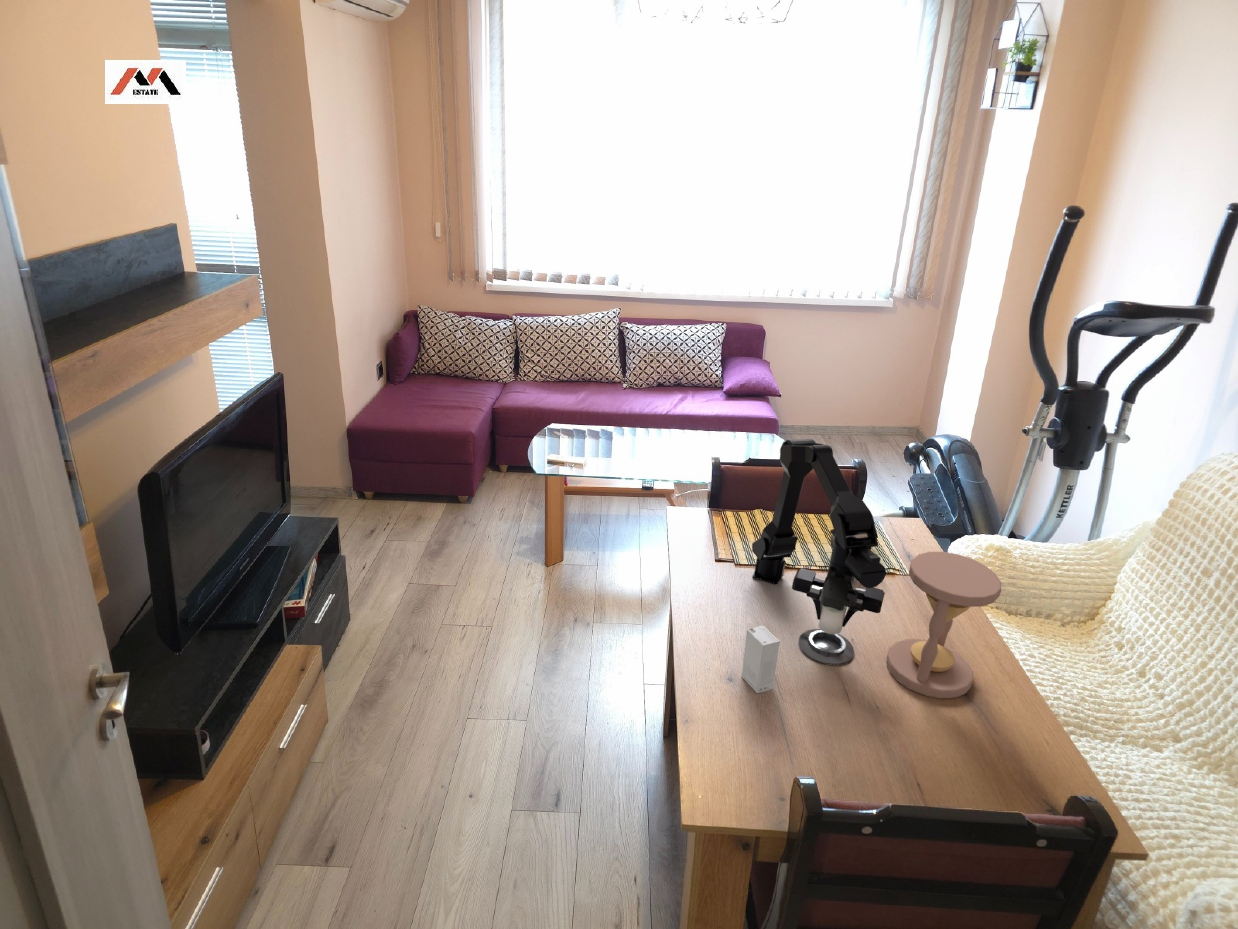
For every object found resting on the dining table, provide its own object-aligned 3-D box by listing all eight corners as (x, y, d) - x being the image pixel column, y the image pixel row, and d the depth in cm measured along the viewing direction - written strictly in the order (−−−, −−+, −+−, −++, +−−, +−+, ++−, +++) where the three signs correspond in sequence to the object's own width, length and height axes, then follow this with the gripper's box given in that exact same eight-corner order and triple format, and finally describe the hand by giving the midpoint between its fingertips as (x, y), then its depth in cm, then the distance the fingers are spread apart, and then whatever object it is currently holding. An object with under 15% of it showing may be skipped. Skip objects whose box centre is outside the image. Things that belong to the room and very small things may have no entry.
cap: (816, 630, 175) (820, 607, 173) (820, 617, 180) (825, 595, 177) (839, 637, 173) (844, 614, 171) (843, 624, 178) (848, 602, 175)
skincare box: (773, 689, 165) (782, 641, 160) (755, 695, 163) (764, 646, 158) (756, 671, 170) (764, 624, 165) (738, 676, 168) (746, 628, 163)
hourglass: (909, 636, 185) (934, 542, 174) (984, 674, 174) (1016, 576, 163) (870, 668, 173) (895, 569, 163) (948, 711, 162) (979, 608, 152)
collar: (793, 654, 176) (794, 648, 175) (804, 625, 186) (805, 619, 185) (848, 671, 172) (850, 665, 171) (857, 641, 182) (858, 634, 181)
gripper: (792, 567, 166) (780, 629, 172) (885, 592, 159) (869, 656, 166) (803, 543, 175) (792, 603, 182) (891, 566, 169) (876, 627, 175)
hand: (831, 622), depth 176 cm, fingers closed on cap, 5 cm apart
